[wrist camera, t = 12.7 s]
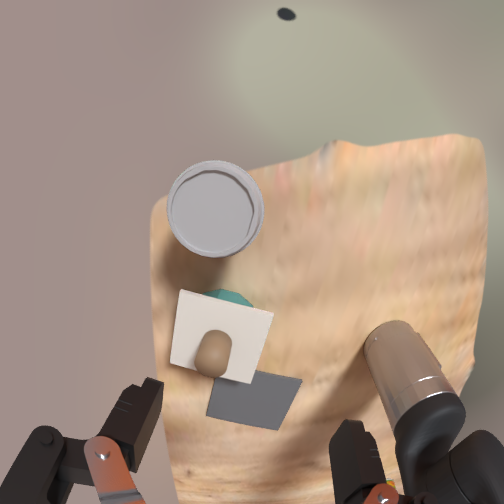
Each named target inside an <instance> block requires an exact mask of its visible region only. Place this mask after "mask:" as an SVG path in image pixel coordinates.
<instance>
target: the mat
mask: <svg viewBox="0 0 504 504" xmlns="http://www.w3.org/2000/svg"><path fill="white" fill-rule="evenodd" d="M301 383H302V379H296V378H291V377H285V376H280V375H275V374H270V373H265V372H261V371H256V370H255V373H254V375H253V378H252V381H251V384H248V383H244V382H239V381H235V380H231V379H227V378H223V377H216V378H215V382H214V386H213V390H212V394H211V398H210V402H209V407H208V411H207V415H206V416H209V417H213V418H217V419H221V420H226V421H230V422H235V423H239V424H244V425H249V426H255V427H260V428H266V429H272V430H278V429H279V427H280V425H281V423H282V421H283V419H284V418H285V416H286V414H287V412H288V410H289V408H290V406H291V404H292V402H293V400H294V398H295V396H296V393H297V391H298V389H299V387H300V385H301Z"/></svg>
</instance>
